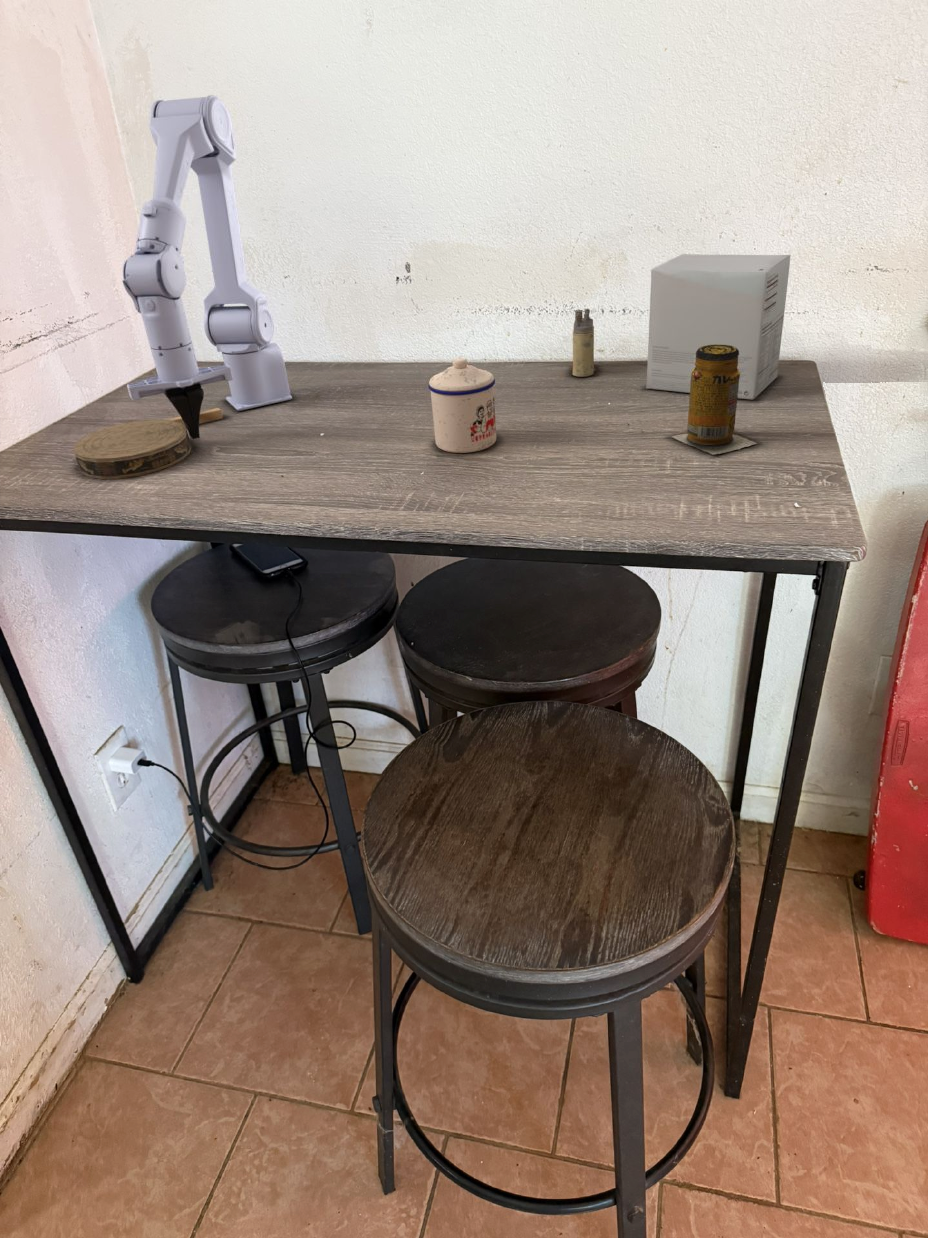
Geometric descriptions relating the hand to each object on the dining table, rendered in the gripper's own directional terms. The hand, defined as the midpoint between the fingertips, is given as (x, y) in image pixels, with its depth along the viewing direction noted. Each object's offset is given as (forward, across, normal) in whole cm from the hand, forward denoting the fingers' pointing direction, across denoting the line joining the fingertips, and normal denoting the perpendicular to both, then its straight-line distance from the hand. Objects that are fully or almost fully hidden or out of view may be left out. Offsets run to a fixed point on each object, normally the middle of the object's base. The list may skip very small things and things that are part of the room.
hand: (194, 436), depth 126 cm
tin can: (+1, -9, 0) cm, 9 cm away
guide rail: (+1, -2, +10) cm, 11 cm away
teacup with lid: (+1, +33, -25) cm, 42 cm away
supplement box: (+1, +75, -28) cm, 80 cm away
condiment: (+1, +58, -47) cm, 75 cm away
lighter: (+1, +64, -9) cm, 65 cm away
